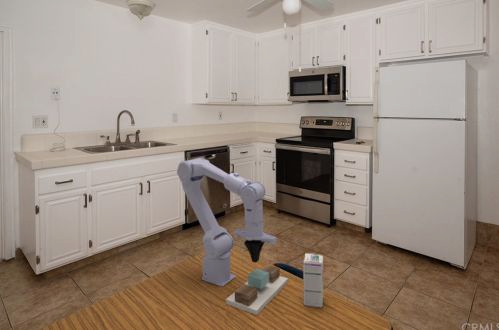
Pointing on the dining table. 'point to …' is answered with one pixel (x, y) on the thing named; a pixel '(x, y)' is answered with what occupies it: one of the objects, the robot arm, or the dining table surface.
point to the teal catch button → (258, 278)
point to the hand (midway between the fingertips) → (255, 261)
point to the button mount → (260, 296)
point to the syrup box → (313, 280)
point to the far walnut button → (272, 272)
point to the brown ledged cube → (246, 294)
